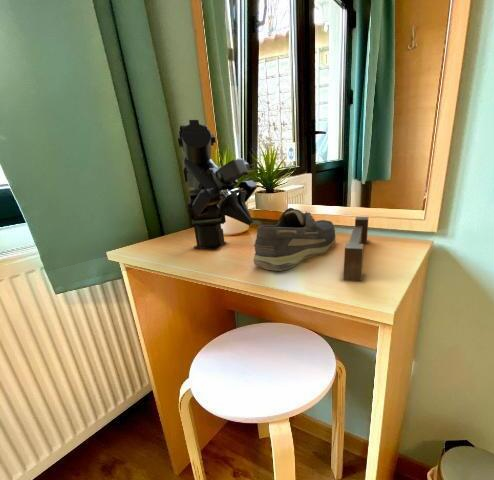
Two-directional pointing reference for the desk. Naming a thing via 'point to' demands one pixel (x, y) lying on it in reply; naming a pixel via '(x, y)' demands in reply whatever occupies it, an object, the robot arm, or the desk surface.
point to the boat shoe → (292, 240)
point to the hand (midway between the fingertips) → (251, 223)
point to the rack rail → (355, 250)
